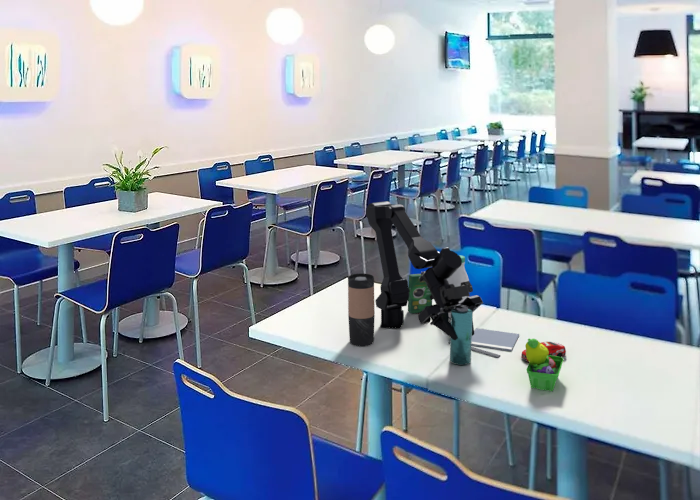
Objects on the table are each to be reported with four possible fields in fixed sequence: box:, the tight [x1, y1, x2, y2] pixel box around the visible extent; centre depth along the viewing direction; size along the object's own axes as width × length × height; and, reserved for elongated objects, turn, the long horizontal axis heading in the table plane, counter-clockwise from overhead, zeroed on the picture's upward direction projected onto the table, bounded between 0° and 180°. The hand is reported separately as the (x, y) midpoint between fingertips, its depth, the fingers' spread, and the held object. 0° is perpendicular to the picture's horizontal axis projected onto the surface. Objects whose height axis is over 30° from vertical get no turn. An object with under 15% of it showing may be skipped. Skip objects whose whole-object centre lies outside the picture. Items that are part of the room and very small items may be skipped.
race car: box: [520, 341, 567, 363], centre depth 168 cm, size 13×5×4 cm, turn 111°
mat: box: [471, 327, 520, 352], centre depth 181 cm, size 13×13×1 cm
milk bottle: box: [447, 254, 470, 319], centre depth 199 cm, size 8×8×20 cm
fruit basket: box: [525, 338, 565, 392], centre depth 153 cm, size 11×9×11 cm
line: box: [448, 341, 501, 359], centre depth 174 cm, size 16×2×1 cm, turn 47°
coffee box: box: [407, 273, 433, 314], centre depth 204 cm, size 8×3×13 cm, turn 107°
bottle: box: [449, 305, 474, 366], centre depth 164 cm, size 6×6×15 cm
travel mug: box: [347, 273, 376, 348], centre depth 179 cm, size 8×8×20 cm
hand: (464, 337), depth 163 cm, fingers closed on bottle, 6 cm apart
